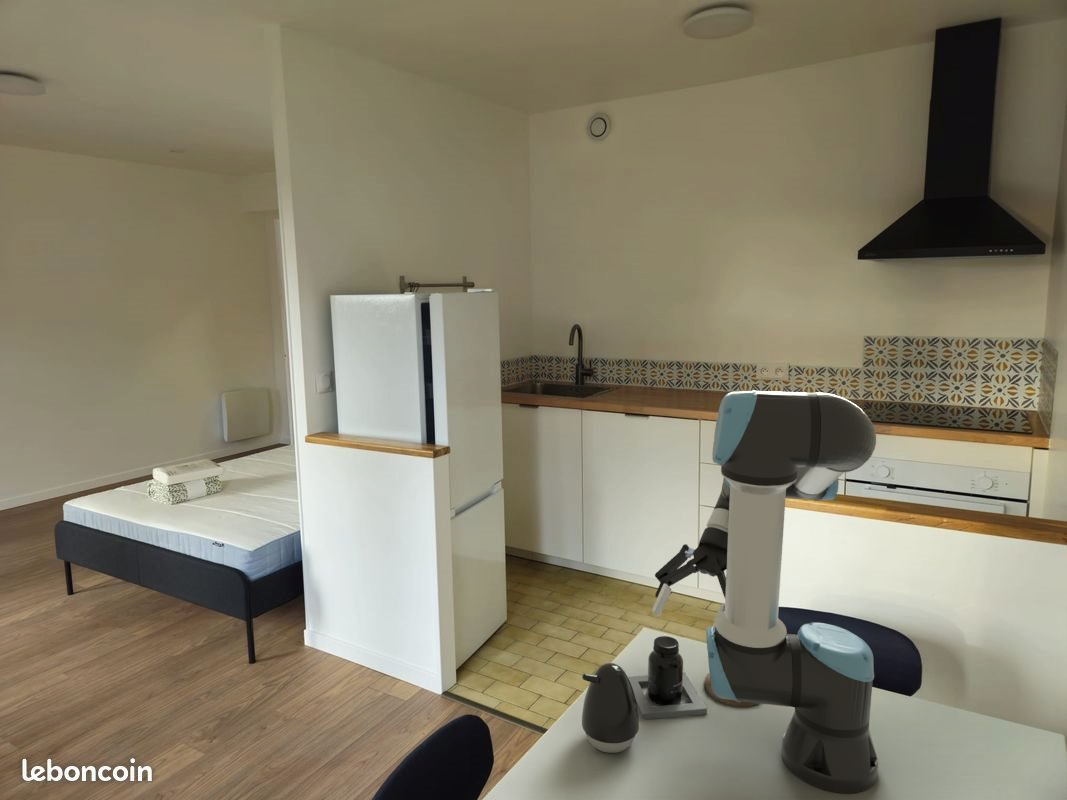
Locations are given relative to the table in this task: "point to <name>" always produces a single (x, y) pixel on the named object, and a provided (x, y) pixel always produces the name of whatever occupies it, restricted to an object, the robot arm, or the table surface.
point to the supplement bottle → (665, 672)
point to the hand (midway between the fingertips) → (683, 624)
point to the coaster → (726, 701)
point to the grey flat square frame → (667, 711)
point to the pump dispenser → (610, 709)
